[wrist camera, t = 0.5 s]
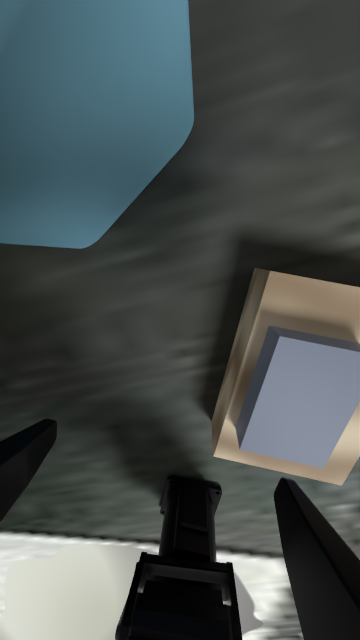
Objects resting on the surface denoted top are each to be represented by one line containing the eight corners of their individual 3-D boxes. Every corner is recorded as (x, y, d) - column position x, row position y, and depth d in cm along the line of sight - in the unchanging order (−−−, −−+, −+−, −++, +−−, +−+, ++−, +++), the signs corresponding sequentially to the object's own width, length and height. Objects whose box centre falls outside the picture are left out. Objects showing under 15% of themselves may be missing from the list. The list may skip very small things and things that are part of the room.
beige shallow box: (316, 444, 21) (341, 485, 17) (211, 421, 22) (213, 456, 18) (392, 293, 16) (450, 304, 12) (254, 267, 17) (270, 270, 13)
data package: (153, 73, 14) (-75, -797, 2) (196, 132, 15) (178, -325, 3) (50, 208, 17) (-256, 108, 6) (90, 250, 18) (-111, 239, 6)
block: (309, 443, 16) (323, 468, 15) (235, 427, 17) (239, 449, 15) (358, 343, 14) (383, 356, 12) (269, 325, 14) (279, 336, 12)
